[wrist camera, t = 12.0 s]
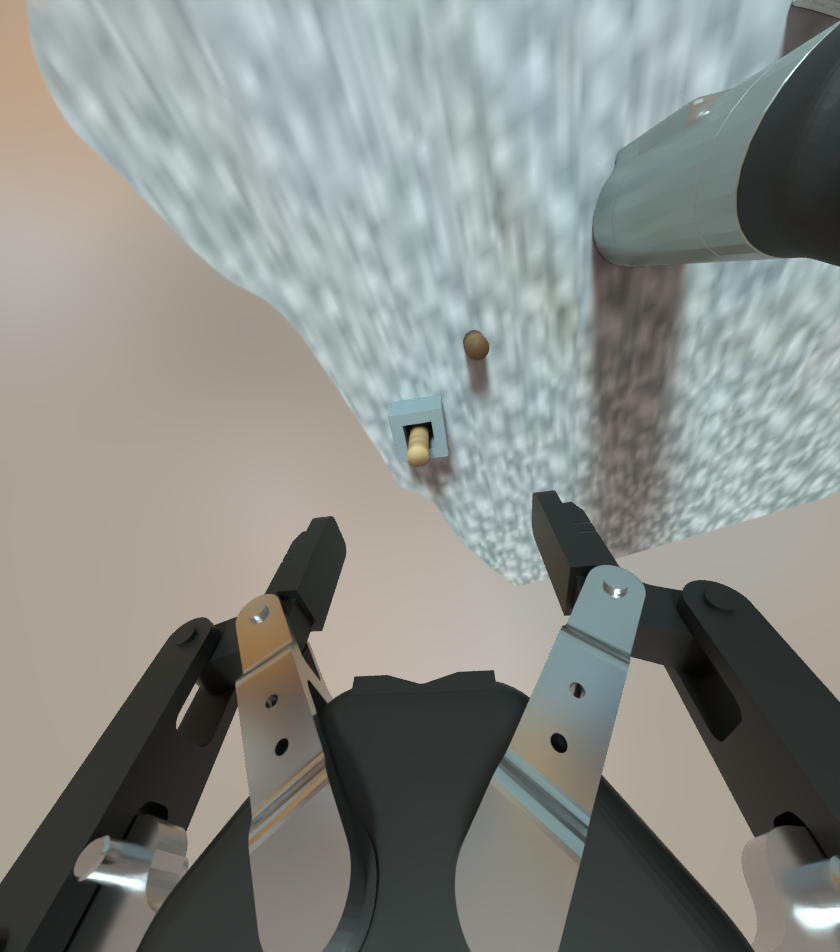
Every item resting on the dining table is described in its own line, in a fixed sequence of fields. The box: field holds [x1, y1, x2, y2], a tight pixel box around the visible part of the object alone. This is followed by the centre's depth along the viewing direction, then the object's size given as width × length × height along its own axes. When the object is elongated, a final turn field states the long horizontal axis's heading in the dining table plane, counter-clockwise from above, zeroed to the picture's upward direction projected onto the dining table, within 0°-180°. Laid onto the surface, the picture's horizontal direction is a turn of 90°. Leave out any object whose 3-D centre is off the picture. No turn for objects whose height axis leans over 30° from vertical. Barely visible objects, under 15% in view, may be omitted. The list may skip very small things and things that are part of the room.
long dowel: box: [407, 422, 429, 467], centre depth 38 cm, size 2×2×10 cm
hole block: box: [388, 395, 449, 463], centre depth 40 cm, size 6×6×5 cm
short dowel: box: [463, 330, 489, 360], centre depth 34 cm, size 2×2×4 cm
